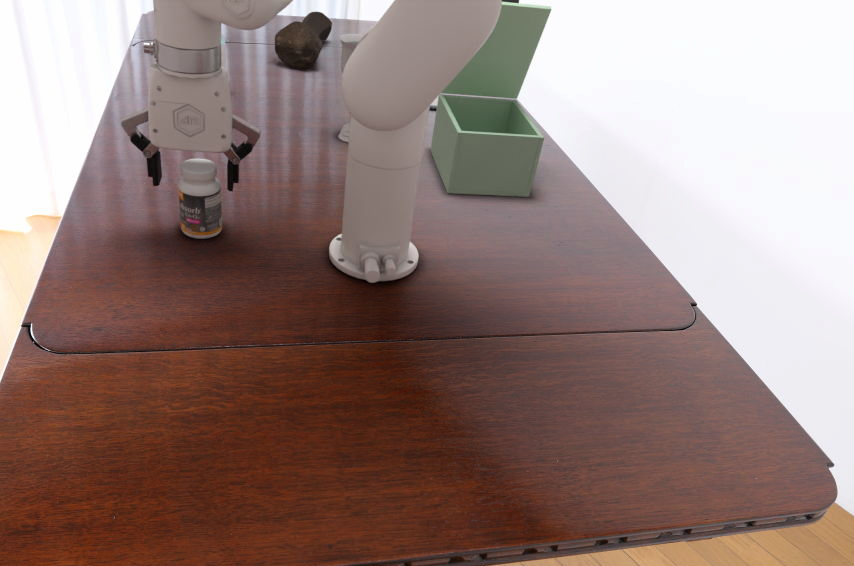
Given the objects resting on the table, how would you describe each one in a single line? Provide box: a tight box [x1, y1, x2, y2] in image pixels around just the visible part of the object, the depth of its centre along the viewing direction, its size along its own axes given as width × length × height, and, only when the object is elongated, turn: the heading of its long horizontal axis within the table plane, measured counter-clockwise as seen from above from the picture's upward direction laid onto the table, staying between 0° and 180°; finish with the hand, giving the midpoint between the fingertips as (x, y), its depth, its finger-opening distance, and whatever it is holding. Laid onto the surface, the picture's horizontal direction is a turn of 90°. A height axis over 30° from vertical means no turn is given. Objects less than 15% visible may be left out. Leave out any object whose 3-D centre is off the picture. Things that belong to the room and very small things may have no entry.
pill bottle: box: [177, 157, 223, 240], centre depth 94 cm, size 6×6×10 cm
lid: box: [440, 0, 552, 100], centre depth 117 cm, size 18×15×5 cm
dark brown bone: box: [274, 11, 333, 71], centre depth 167 cm, size 11×10×28 cm
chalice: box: [337, 33, 365, 143], centre depth 124 cm, size 7×7×18 cm
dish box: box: [429, 94, 545, 198], centre depth 120 cm, size 18×15×11 cm
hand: (194, 184), depth 93 cm, fingers open, 9 cm apart
